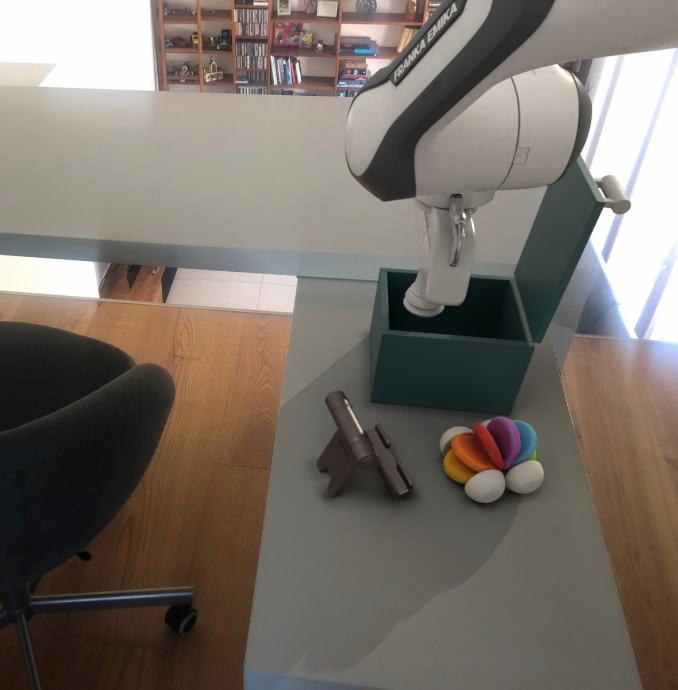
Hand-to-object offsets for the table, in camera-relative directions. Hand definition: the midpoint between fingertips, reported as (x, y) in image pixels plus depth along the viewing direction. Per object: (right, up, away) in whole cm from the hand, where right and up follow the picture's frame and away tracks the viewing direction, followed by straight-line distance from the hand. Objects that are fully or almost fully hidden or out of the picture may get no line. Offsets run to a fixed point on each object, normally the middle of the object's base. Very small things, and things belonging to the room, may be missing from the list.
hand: (427, 287), depth 76 cm
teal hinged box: (+3, -10, +8) cm, 13 cm away
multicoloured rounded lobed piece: (+5, -20, -4) cm, 21 cm away
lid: (+11, +4, -6) cm, 13 cm away
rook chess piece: (0, -2, +2) cm, 3 cm away
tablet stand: (-8, -20, -4) cm, 22 cm away
